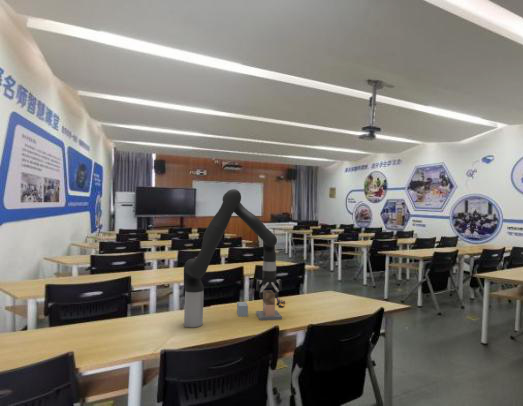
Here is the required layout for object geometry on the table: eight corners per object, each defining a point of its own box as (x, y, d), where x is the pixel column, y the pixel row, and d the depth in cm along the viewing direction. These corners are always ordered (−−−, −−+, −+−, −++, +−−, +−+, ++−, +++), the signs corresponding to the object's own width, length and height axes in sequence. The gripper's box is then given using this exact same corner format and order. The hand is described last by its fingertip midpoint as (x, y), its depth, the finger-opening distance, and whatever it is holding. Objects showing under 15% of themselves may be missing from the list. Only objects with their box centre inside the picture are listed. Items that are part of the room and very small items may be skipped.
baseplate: (260, 320, 177) (260, 306, 178) (256, 313, 189) (256, 300, 189) (281, 319, 180) (282, 305, 180) (276, 312, 191) (276, 299, 192)
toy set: (271, 309, 200) (271, 301, 200) (266, 304, 211) (266, 296, 211) (290, 308, 203) (290, 300, 203) (284, 303, 214) (284, 295, 214)
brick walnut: (265, 304, 180) (266, 293, 180) (262, 301, 188) (263, 290, 188) (274, 304, 181) (274, 293, 181) (271, 300, 189) (271, 290, 189)
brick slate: (238, 316, 183) (239, 305, 183) (236, 312, 191) (237, 302, 191) (247, 316, 184) (247, 305, 184) (245, 312, 192) (245, 301, 192)
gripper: (280, 268, 190) (279, 296, 190) (255, 268, 188) (255, 297, 187) (283, 270, 183) (283, 299, 182) (258, 270, 180) (257, 300, 180)
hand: (268, 298), depth 185 cm, fingers open, 8 cm apart
